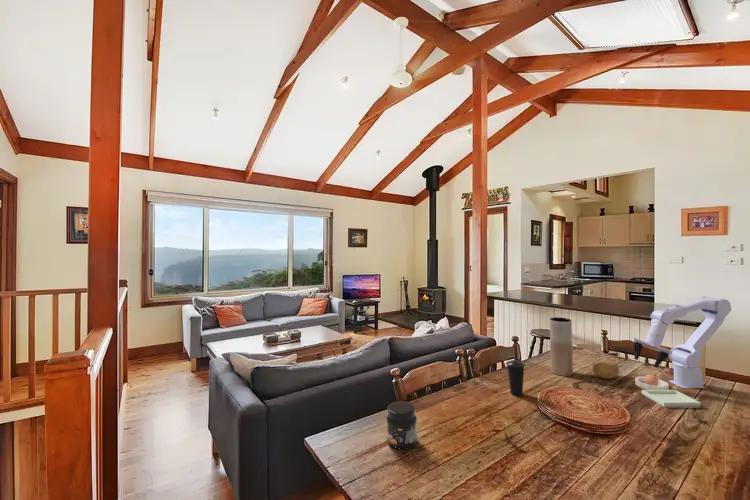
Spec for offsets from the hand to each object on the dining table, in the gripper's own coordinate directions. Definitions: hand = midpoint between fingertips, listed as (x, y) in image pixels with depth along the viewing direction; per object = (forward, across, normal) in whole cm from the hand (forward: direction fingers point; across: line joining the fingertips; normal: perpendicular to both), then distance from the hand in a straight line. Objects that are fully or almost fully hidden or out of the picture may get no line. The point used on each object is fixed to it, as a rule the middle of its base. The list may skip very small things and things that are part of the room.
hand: (645, 363), depth 152 cm
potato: (+14, -10, +8) cm, 19 cm away
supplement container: (+54, -78, -76) cm, 122 cm away
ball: (+9, +5, +2) cm, 11 cm away
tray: (+11, +8, -12) cm, 18 cm away
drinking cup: (+33, -47, -24) cm, 62 cm away
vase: (+20, -28, +9) cm, 36 cm away
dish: (+9, +6, +2) cm, 11 cm away
